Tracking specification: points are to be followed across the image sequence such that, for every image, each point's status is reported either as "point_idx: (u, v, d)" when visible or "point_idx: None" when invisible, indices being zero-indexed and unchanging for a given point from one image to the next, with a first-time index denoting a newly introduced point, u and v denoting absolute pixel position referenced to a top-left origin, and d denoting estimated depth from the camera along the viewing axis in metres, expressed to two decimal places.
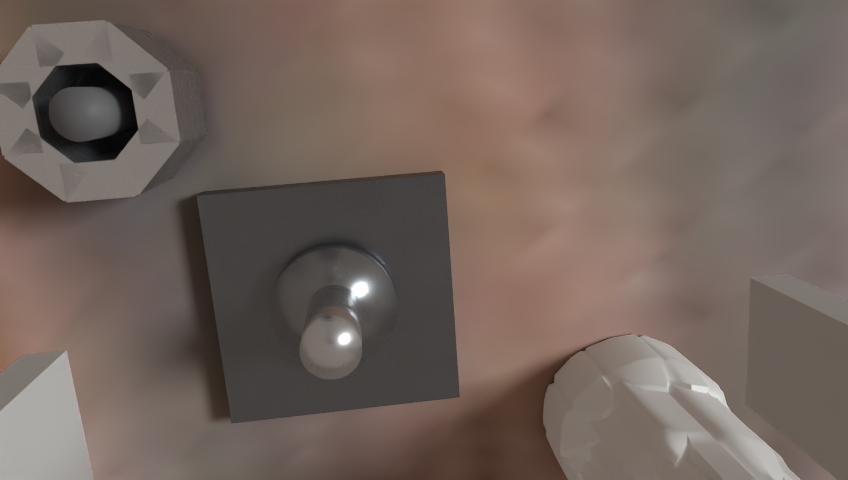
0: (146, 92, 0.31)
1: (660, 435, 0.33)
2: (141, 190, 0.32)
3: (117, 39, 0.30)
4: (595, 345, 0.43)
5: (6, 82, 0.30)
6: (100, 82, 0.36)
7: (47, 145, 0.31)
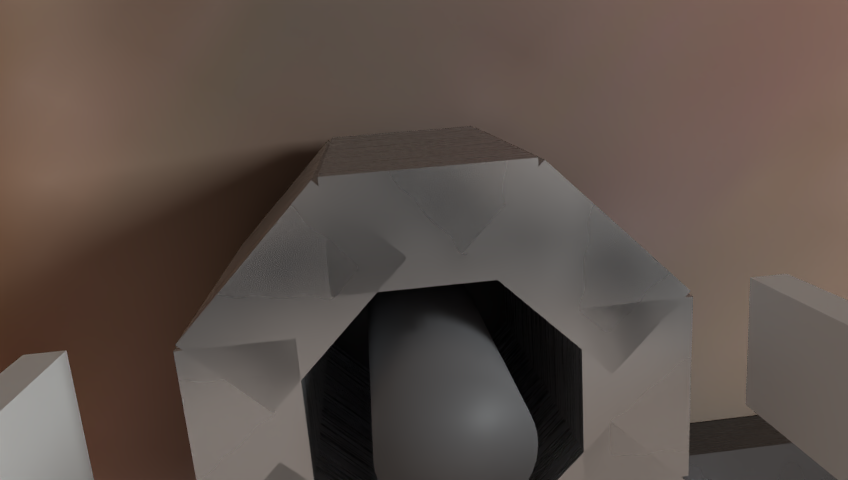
0: (621, 355, 0.11)
1: None
2: None
3: (563, 212, 0.10)
4: None
5: (231, 343, 0.10)
6: None
7: None
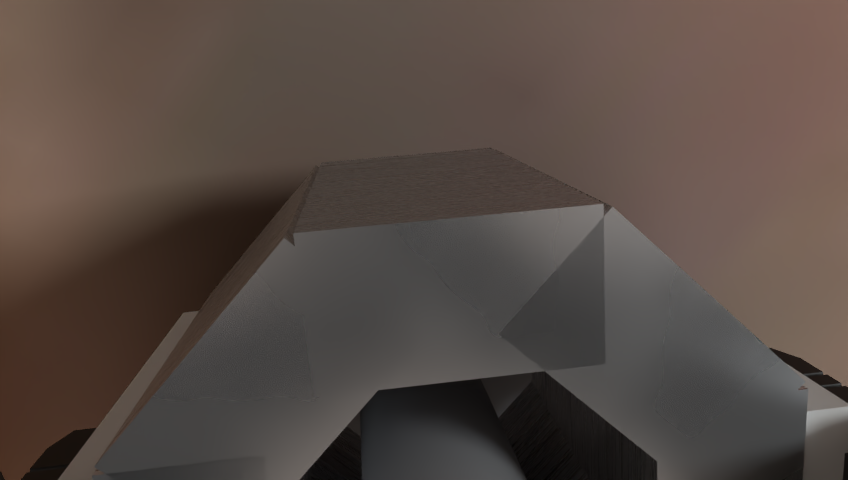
0: (709, 467, 0.08)
1: None
2: None
3: (636, 279, 0.07)
4: None
5: (173, 463, 0.07)
6: None
7: None
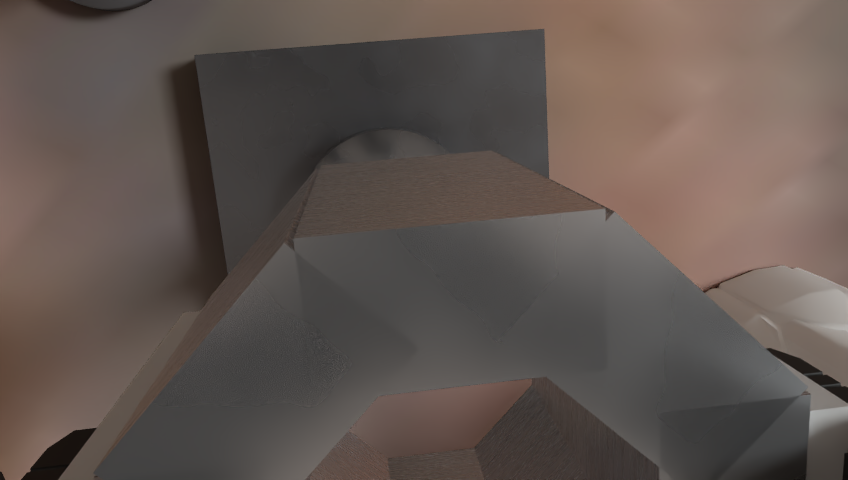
0: (711, 474, 0.08)
1: None
2: None
3: (638, 284, 0.07)
4: (733, 280, 0.32)
5: (173, 469, 0.07)
6: None
7: None
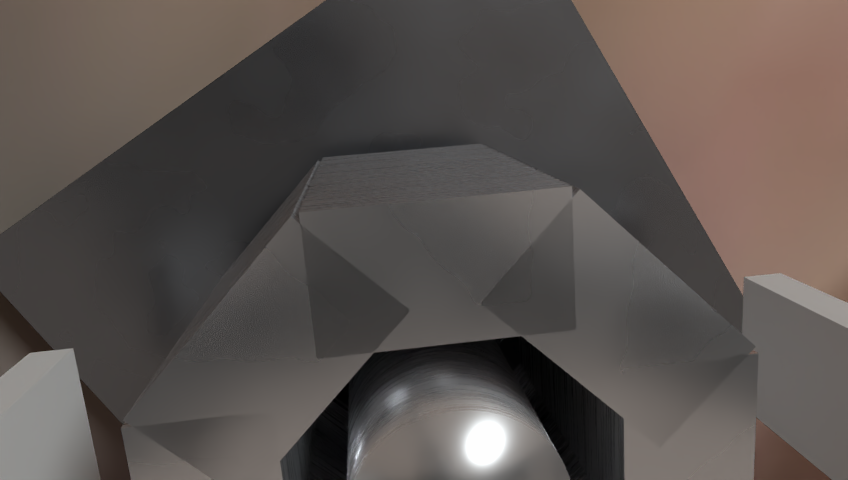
0: (671, 424, 0.09)
1: None
2: None
3: (602, 253, 0.08)
4: None
5: (192, 417, 0.08)
6: None
7: None
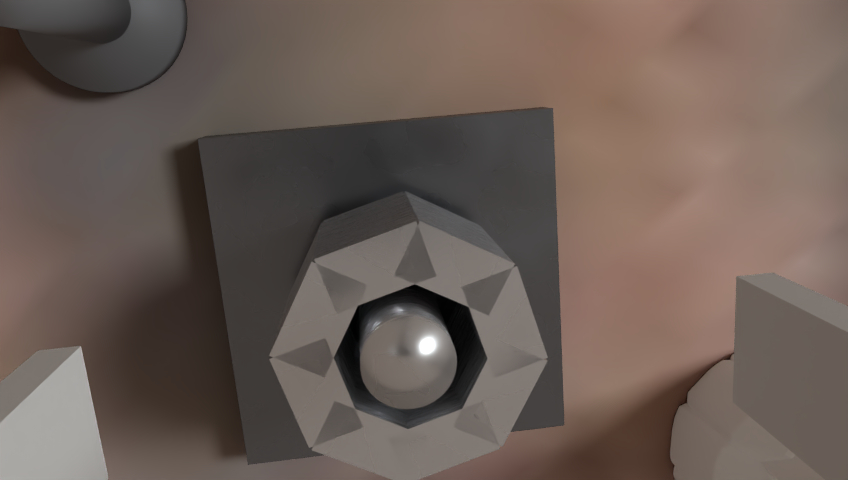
0: (502, 371, 0.21)
1: None
2: None
3: (512, 293, 0.21)
4: None
5: (338, 272, 0.20)
6: None
7: (335, 371, 0.21)
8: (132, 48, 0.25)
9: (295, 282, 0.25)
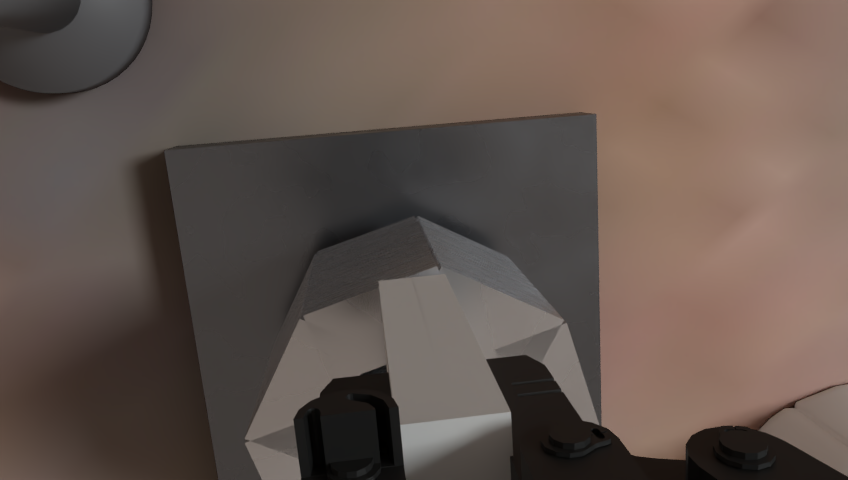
0: None
1: None
2: None
3: (560, 357, 0.16)
4: (813, 399, 0.27)
5: (335, 331, 0.15)
6: None
7: None
8: (82, 39, 0.21)
9: (282, 328, 0.20)
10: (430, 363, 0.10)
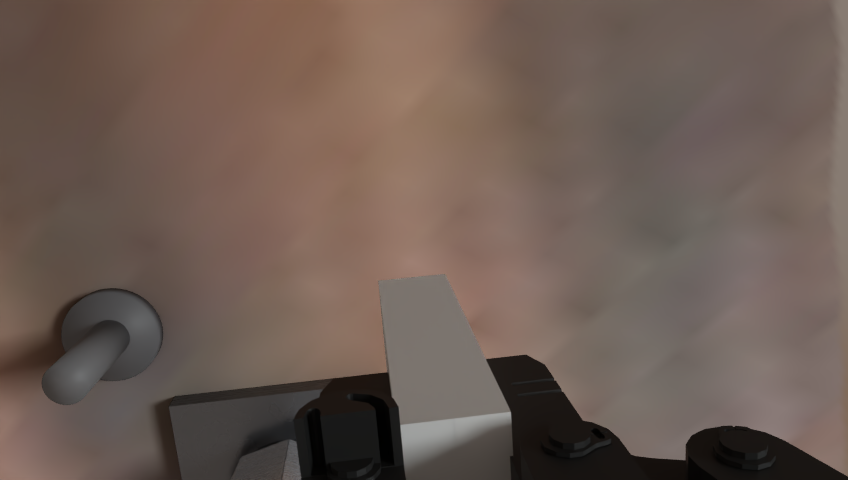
0: None
1: None
2: None
3: None
4: None
5: None
6: (86, 317, 0.43)
7: None
8: (130, 357, 0.44)
9: None
10: (430, 363, 0.10)
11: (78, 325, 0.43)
